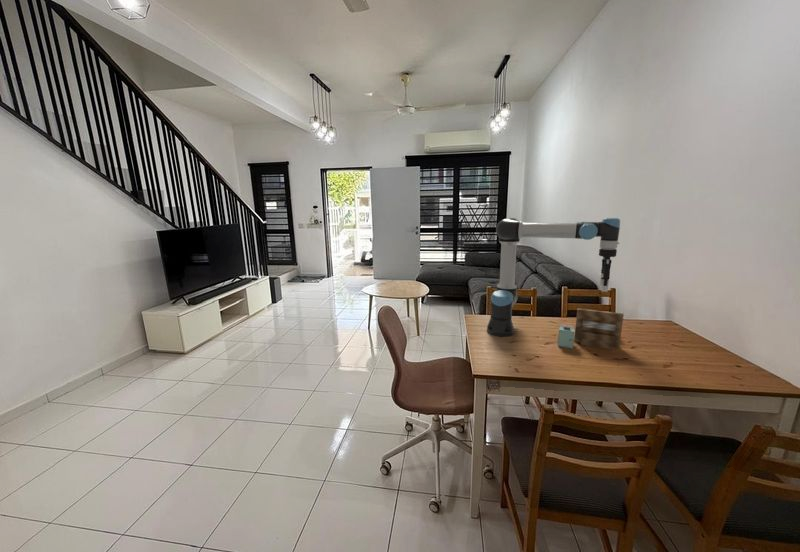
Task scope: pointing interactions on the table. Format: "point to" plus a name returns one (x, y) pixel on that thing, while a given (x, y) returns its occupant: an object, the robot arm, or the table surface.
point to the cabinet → (566, 336)
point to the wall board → (598, 328)
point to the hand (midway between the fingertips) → (603, 288)
